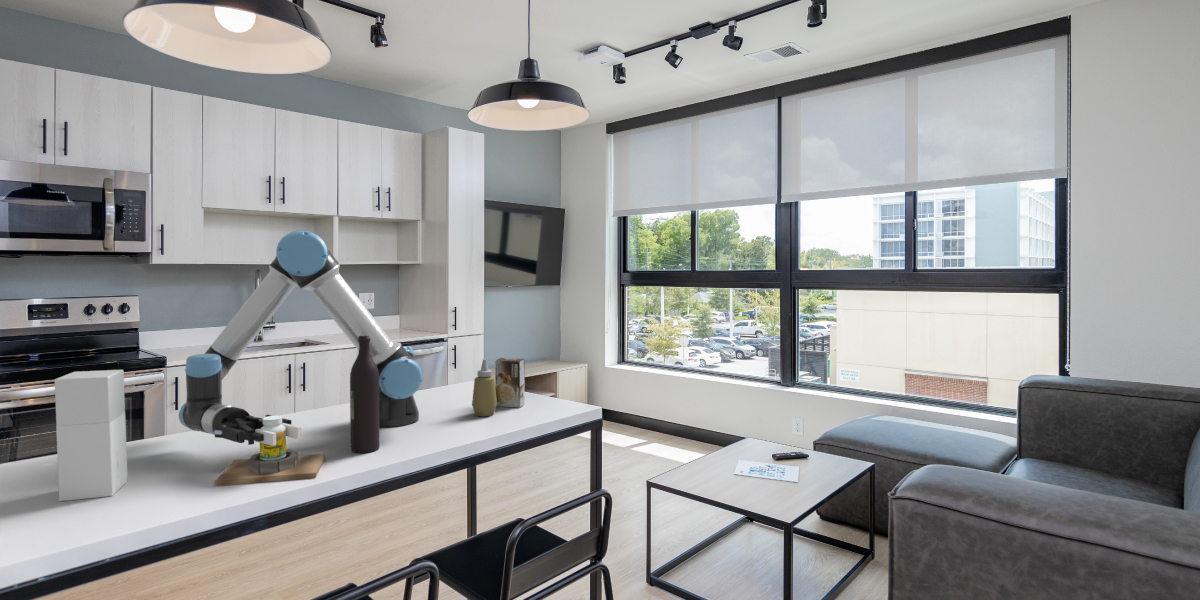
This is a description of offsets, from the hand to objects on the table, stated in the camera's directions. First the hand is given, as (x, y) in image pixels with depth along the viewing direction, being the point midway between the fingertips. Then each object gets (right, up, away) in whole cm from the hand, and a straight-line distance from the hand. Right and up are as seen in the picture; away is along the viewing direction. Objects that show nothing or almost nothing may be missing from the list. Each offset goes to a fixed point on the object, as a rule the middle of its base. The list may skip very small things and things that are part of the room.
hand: (287, 436), depth 136 cm
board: (-5, -9, +3) cm, 11 cm away
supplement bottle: (-5, -6, +3) cm, 8 cm away
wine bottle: (+10, -8, +20) cm, 24 cm away
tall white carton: (-35, -9, -10) cm, 38 cm away
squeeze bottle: (+34, -6, +58) cm, 67 cm away
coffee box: (+40, -6, +71) cm, 82 cm away
